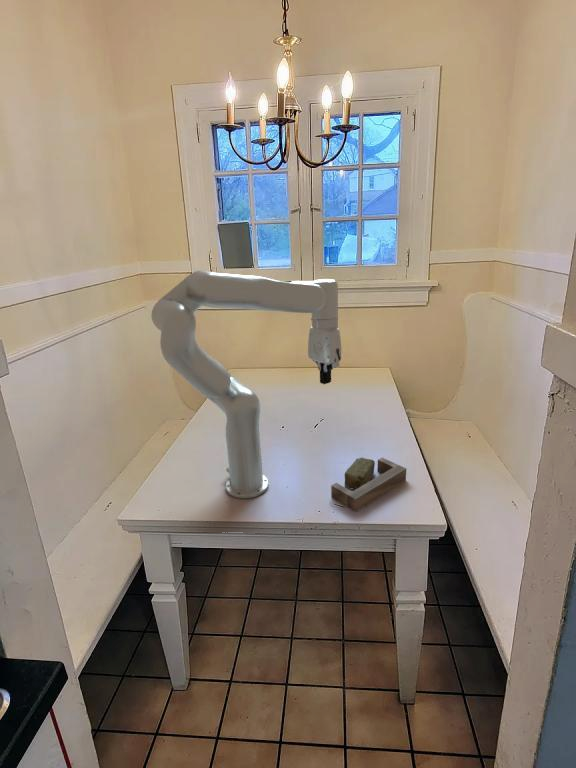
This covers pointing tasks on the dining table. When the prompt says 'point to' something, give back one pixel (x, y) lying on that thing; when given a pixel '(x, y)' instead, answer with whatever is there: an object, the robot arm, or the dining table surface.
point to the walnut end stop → (370, 486)
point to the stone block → (359, 473)
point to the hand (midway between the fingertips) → (325, 382)
